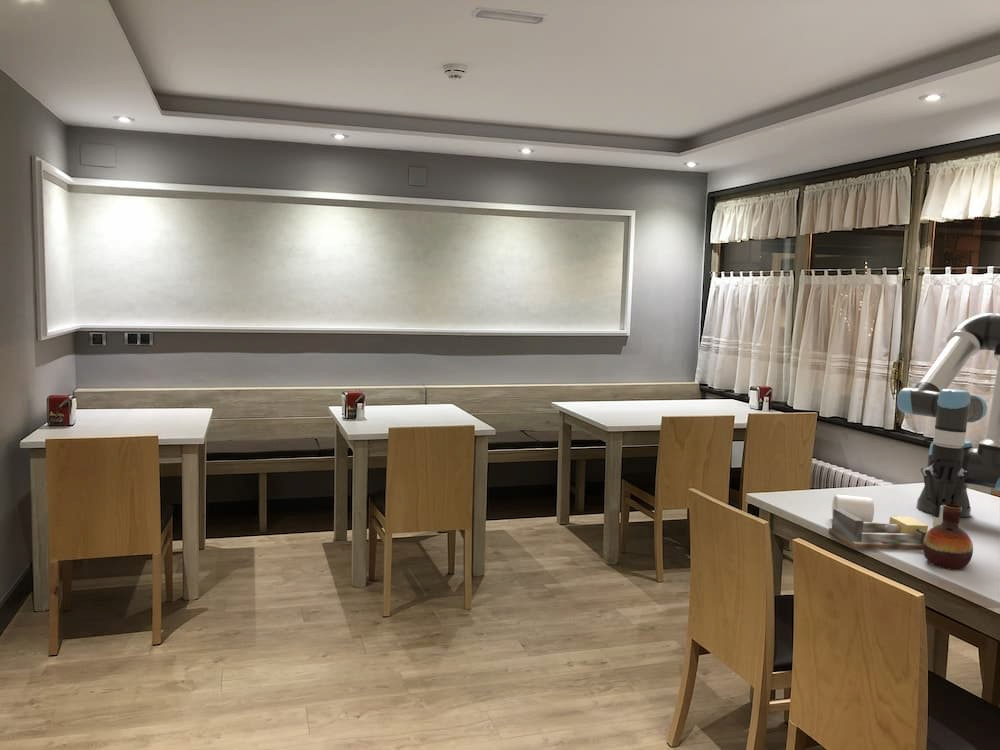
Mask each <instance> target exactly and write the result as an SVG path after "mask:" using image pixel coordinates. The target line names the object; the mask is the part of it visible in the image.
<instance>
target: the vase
mask: <svg viewBox="0 0 1000 750" xmlns="http://www.w3.org/2000/svg"><path fill="white" fill-rule="evenodd" d="M961 510H962V507H961V506H959V505H955V504H943V519H942V523H941V524H939V525H936V526H934V527H933V526H932V527H931V528H929V529H928V531H927V533H926V535H925V537H924V540H923V550H922V551H923V554H924V556H925V559H926V560H927V561H928V562H929V564H931V565H933V566H935V567H938V568H942V569H947V570H953V571H954V570H957V571H958V570H963V569H964V568H965V567H967V566H968V565H969V563H970V562H971V560H972V557H973V553H974V544H973V540H972V539H971V537H970V535H969V534H968V533H967V532H966V531H965V530H964V529H963V528H962V527H960V518H961V517H960V515H961Z"/></svg>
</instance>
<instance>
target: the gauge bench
mask: <svg viewBox="0 0 1000 750" xmlns="http://www.w3.org/2000/svg"><path fill="white" fill-rule="evenodd" d="M889 523H890V521H889V522H888V521H887V522H884V521H882V522H881V521H880V522H878V521H877V522H876V521H872V522H864V521H863V520H861V519H859V518H858V517H856V516H854V515H852V514H850V513H848V512H847V511H845V510H843V509H834V511H833V517H832V522H831V524H832V525H831V527H829V528H828V533H830V534H832V535H833V536H834V537H836V538H837V539H839V540H841V541H843V542H844V543H846V544H847V545H849V546H851V547H852V548H854V549H864V550H865V549H866V550H867V549H869V550H871V549H872V550H874V549H875V550H877V549H878V550H909V551H910V550H913V551H914V550H915V551H919V550H920V551H923V543H920V541H921V534H905V533H887V532H886V530H885V525H886V524H889Z"/></svg>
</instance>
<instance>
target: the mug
mask: <svg viewBox="0 0 1000 750" xmlns="http://www.w3.org/2000/svg"><path fill="white" fill-rule="evenodd" d="M874 505H875V504H874V500H873V499H872V498H871V497H866V496H865V497H864V496H854V495H846V494H845V495H843V494H835V495H833V498H832V505H831V516H832V518H833V511H834V509H843V510H845V511H847V512H848V513H850V514H852V515H854V516H856V517H858V518H859V519H861V520H863V521H864V522H874V517H875V516H874V514H875V506H874Z"/></svg>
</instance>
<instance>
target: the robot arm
mask: <svg viewBox="0 0 1000 750" xmlns="http://www.w3.org/2000/svg"><path fill="white" fill-rule="evenodd" d="M985 350H987V351H994V352H993V357H994V359H996V360H997V362H998V363H997V369H996V374H995V381H994V387H993V394H992V397H991V399H992V400H991V405H990V411H989V416H988V420H987V421H988V422H987V428H986V434H985V438H984V439H983V440H981V441H979V442H978V446H977V447H973V443H972V441H968V440H966V435H967V434H966V433H967V426H968V423H975V422H978V421H980V420H982V419H983V418H984V417H986V415H987V411H988V406H987V403H986V401H985V400H984V399H983V398H982V397H980V396H977V395H974V394H973V395H972V394H971V393H970V392H969V391H967V390H962V389H954V388H949V387H950V386H951V384H952V383H953V382H954V380H955V378H956V377H957V376H958V374H959V373H960V371H961V370H962V369H963V368H964V366H965V365H966V363H967V362H968V361H969V359H970V358H971V357H973V356H975V355H977V354H978V352H980V351H985ZM896 405H897V408H898V410H899V411H900V412H902V413H905V414H908V415H909V414H910V415H913V416H914V415H915V416H922V417H930V418H935V423H934V432H933V440H932V441H933V442H931V444H930V446H929V450H928V451H929V452H928V453H927V456H928V457H927V463H926V464H927V466H926V468H924V467H922V468H921V469H920V472H921V474H922V476H923V483H924V486H923V488H922V491H921V492H920V495H919V496H918V498H917V502H916V508H917V509H918V510H920V511H923V512H925V513H928V514H931V515H932V517H933V520H932V527H934V526H936V525H939V524H941V523H942V519H943V504H955V505H959V506H961V507H962V510H961V515H960V518H968V517H970V516H971V513H972V512H971V511H972V510H971V509H972V508H971V504H970V499H969V495H968V485H973V486H976V487H982V488H988V489H990V490H995V491H997V492H998V491H1000V313H996V312H987V313H981V314H977V315H975V316H971V317H970V318H967V319H966V320H964V321H963V322H961V323H959V324H958V325H956V327H954V328H953V329H952V330H951V332H950V333H949V335H948V336H947V338H946V345H944V347H943V348H942V350H941V351H940V352H939V354H938V355H937V356H936V358H935V359H934V360H933V362H932V363H931V365H929V367H928V369H926V371H925V373H924V374H923V375H922V377H921V378H920V379H919V380H918V382H917V383H916V385H915V386H914V387H913V388H912V387H904V388H902V389H900V391H899V392H898V394H897V398H896Z"/></svg>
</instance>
